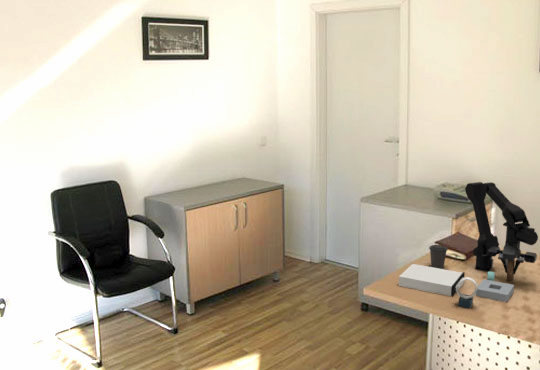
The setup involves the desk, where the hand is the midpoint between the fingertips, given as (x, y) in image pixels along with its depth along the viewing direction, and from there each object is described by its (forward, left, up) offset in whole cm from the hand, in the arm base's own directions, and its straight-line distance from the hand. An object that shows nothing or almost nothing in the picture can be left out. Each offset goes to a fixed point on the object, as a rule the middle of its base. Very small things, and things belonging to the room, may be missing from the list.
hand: (510, 273), depth 258 cm
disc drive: (-27, -21, -4) cm, 34 cm away
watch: (-9, -35, -3) cm, 36 cm away
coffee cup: (-31, 0, -3) cm, 31 cm away
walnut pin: (0, 0, -3) cm, 3 cm away
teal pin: (-6, -8, -3) cm, 10 cm away
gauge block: (-2, -18, -3) cm, 18 cm away
